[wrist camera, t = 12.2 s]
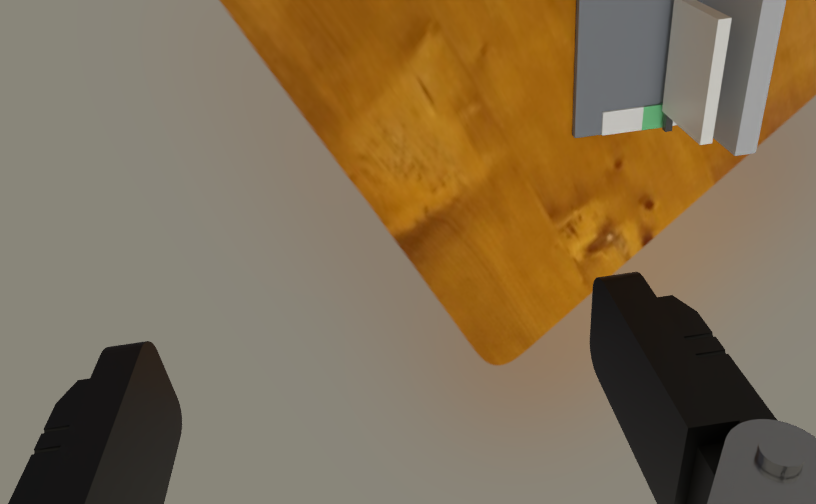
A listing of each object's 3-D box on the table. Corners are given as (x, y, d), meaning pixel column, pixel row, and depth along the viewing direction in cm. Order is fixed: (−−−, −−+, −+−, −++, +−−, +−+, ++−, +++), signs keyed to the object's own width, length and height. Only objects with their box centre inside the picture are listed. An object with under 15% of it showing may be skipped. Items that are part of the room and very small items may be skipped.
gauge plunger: (674, -4, 44) (718, 19, 39) (686, -5, 44) (731, 17, 39) (659, 129, 49) (697, 164, 44) (670, 127, 49) (708, 162, 44)
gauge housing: (577, -19, 44) (618, 8, 38) (725, -39, 44) (790, -15, 38) (572, 135, 50) (606, 180, 44) (702, 116, 50) (755, 159, 44)
